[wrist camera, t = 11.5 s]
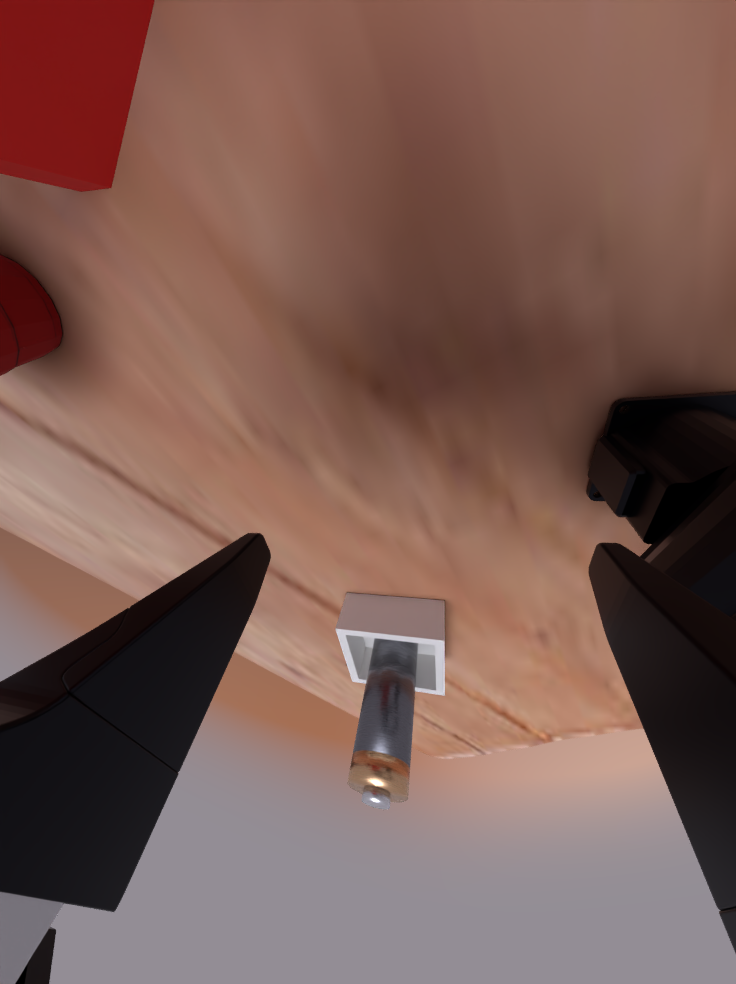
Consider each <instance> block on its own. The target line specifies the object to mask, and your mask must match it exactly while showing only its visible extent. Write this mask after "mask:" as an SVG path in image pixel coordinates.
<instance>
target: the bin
mask: <svg viewBox="0 0 736 984" xmlns="http://www.w3.org/2000/svg"><path fill="white" fill-rule="evenodd" d="M335 629H336V632H337V635H338V638H339V641H340V644H341V647H342V651H343V654H344V657H345V660H346V663H347V666H348V669H349V672H350V675H351V678H352V681H353V682H358V683H365V684H366V681H367V676H368V671H369V665H370V660H371V655H372V649H373V644H374V639H375V638H378V639H387V640H396V641H404V642H413V643H418V655H417V670H416V685H415V691H418V692H424V693H431V694H437V695H444V696H445V600H432V599H420V598H408V597H395V596H383V595H371V594H358V593H346V596H345V599H344V603H343V606H342V609H341V612H340V615H339V619H338V622H337V625H336V628H335Z"/></svg>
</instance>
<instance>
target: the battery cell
mask: <svg viewBox="0 0 736 984" xmlns="http://www.w3.org/2000/svg"><path fill="white" fill-rule="evenodd" d="M417 655H418V643H413V642H404V641H396V640H387V639H378V638H375V639H374V644H373V649H372V655H371V660H370V665H369V671H368V676H367V681H366V686H365V692H364V697H363V702H362V708H361V713H360V718H359V724H358V729H357V734H356V740H355V745H354V750H353V756H352V761H351V766H350V772H349V777H348V782H347V783H348V785H349V786H350V787H351V788H352V789H354V790H355V791H357V792H359V793H361V794H362V802H363V803H365V804H367V805H369V806H372V807H375V808H379V809H389V808H390V802H404V801H406V800H408V790H409V774H410V760H411V745H412V730H413V715H414V700H415V685H416V670H417Z"/></svg>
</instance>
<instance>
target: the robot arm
mask: <svg viewBox="0 0 736 984" xmlns="http://www.w3.org/2000/svg"><path fill="white" fill-rule="evenodd" d="M626 405H627V408H626V410H624V411H622V412H619V410H620V408H621V407H623V406H626ZM588 477H589V478H590V481H589V485H588V488H587V495H588V497H589V498H590V499H591V500H593V501H606V502H607V504H608V505H609V507H610V508H611V509H612V511H613V512H614V513H615V514H616V515H617V516H618V517H626V519H627V520H628V521H629V523H630V524H631V525H632V527H633V528H634V530H635V531H636V532H637V534H638V535H639V536H640V538H641V539H642V540H643V542H644V543H647V544H652V545H651V546H650V547H649V548H648V549H647V550H646V551H645V552H644V553H643V554H642V555H641V556H640V557H639V556H638V555H636V554H635V553H633V552H632V551H630V550H629V549H627V548H626V547H624V546H623V545H621V544H618V543H599V544H598V545H597V546H596V548H595V551H594V554H593V556H592V559H591V562H590V565H589V577H590V581H591V584H592V588H593V592H594V595H595V599H596V602H597V606H598V610H599V613H600V617H601V620H602V624H603V627H604V631H605V634H606V637H607V640H608V642H609V645H610V647H611V650H612V652H613V655H614V657H615V660H616V662H617V665H618V667H619V669H620V672H621V674H622V677H623V679H624V682H625V684H626V686H627V689H628V691H629V694H630V696H631V699H632V701H633V704H634V706H635V708H636V711H637V713H638V716H639V718H640V721H641V723H642V725H643V728H644V730H645V733H646V735H647V738H648V740H649V742H650V745H651V747H652V750H653V752H654V755H655V757H656V760H657V762H658V764H659V767H660V769H661V772H662V774H663V777H664V779H665V781H666V784H667V786H668V789H669V791H670V794H671V796H672V799H673V801H674V803H675V806H676V808H677V811H678V813H679V816H680V818H681V820H682V823H683V825H684V828H685V830H686V833H687V835H688V837H689V840H690V842H691V845H692V847H693V850H694V852H695V854H696V857H697V859H698V862H699V864H700V866H701V869H702V872H703V874H704V876H705V879H706V881H707V884H708V886H709V889H710V891H711V893H712V896H713V898H714V901H715V903H716V906H717V907H718V909H719V910H721V911H719V914H720V916H721V919H722V921H723V923H724V926H725V928H726V931H727V933H728V936H729V938H730V941H731V943H732V945H733V948H734V950H735V953H736V392H720V393H704V394H688V395H672V396H656V397H639V398H624V399H620V400H618V401H616V402H615V403H614V404H613V405H612V407H611V409H610V413H609V416H608V420H607V423H606V427H605V430H604V433H603V436H602V437H600V438H599V439H598V440H597V444H596V447H595V451H594V454H593V458H592V461H591V465H590V468H589V472H588ZM597 491H599V493H598V494H594V493H595V492H597ZM270 558H271V554H270V550H269V548H268V546H267V543H266V541H265V539H264V536H263V535H262V534H260V533H248V534H246V535H244V536H243V537H241V538H239V539H238V540H236V541H235V542H233V543H231V544H230V545H228V546H227V547H225V548H223V549H222V550H220V551H219V552H217V553H215V554H214V555H212V556H210V557H209V558H207V559H206V560H204V561H202V562H201V563H199V564H198V565H196V566H194V567H193V568H191V569H190V570H188V571H186V572H185V573H183V574H182V575H180V576H178V577H177V578H175V579H174V580H172V581H170V582H169V583H167V584H166V585H164V586H162V587H161V588H159V589H158V590H156V591H154V592H153V593H151V594H150V595H148V596H146V597H145V598H143V599H142V600H140V601H138V602H137V603H135V604H134V605H132V606H131V607H130V608H127V609H126V610H124V611H123V612H121V613H119V614H118V615H116V616H114V617H113V618H111V619H109V620H108V621H106V622H104V623H103V624H101V625H99V626H98V627H96V628H95V629H93V630H91V631H90V632H88V633H86V634H85V635H83V636H81V637H79V638H77V639H76V640H74V641H72V642H70V643H69V644H67V645H65V646H63V647H62V648H60V649H58V650H56V651H55V652H53V653H51V654H49V655H47V656H46V657H44V658H42V659H40V660H38V661H37V662H35V663H33V664H31V665H30V666H28V667H26V668H24V669H23V670H21V671H19V672H17V673H15V674H13V675H12V676H10V677H8V678H6V679H5V680H3V681H1V682H0V984H49V980H50V972H51V964H52V957H53V949H54V942H55V934H56V930H55V929H54V928H52V927H50V926H51V924H52V922H53V921H54V919H55V918H56V916H57V914H58V912H59V911H60V909H61V908H62V906H63V904H64V903H66V904H72V905H77V906H83V907H88V908H94V909H99V910H106V911H111V912H114V911H115V910H116V908H117V907H118V905H119V903H120V901H121V899H122V897H123V895H124V893H125V891H126V888H127V886H128V884H129V882H130V879H131V877H132V875H133V873H134V871H135V869H136V866H137V864H138V862H139V860H140V857H141V855H142V853H143V851H144V849H145V846H146V844H147V842H148V840H149V838H150V835H151V833H152V831H153V829H154V827H155V824H156V822H157V820H158V817H159V816H160V813H161V811H162V809H163V807H164V804H165V802H166V800H167V798H168V796H169V794H170V791H171V789H172V787H173V785H174V783H175V780H176V778H177V776H178V772H179V771H180V769H181V767H182V765H183V762H184V760H185V758H186V756H187V754H188V751H189V749H190V747H191V745H192V743H193V740H194V738H195V736H196V734H197V731H198V729H199V727H200V725H201V723H202V721H203V718H204V716H205V714H206V712H207V709H208V707H209V705H210V703H211V701H212V698H213V696H214V694H215V692H216V690H217V687H218V685H219V683H220V681H221V679H222V676H223V674H224V672H225V670H226V668H227V665H228V663H229V661H230V659H231V657H232V654H233V652H234V650H235V648H236V646H237V643H238V641H239V639H240V637H241V635H242V632H243V630H244V628H245V626H246V624H247V621H248V619H249V617H250V615H251V613H252V610H253V608H254V606H255V603H256V600H257V598H258V595H259V592H260V589H261V586H262V583H263V580H264V577H265V574H266V571H267V568H268V565H269V562H270Z"/></svg>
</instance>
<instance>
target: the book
mask: <svg viewBox="0 0 736 984" xmlns="http://www.w3.org/2000/svg"><path fill="white" fill-rule="evenodd" d="M153 5H154V0H0V173H1V174H5V175H10V176H14V177H19V178H23V179H27V180H32V181H36V182H41V183H45V184H50V185H54V186H58V187H63V188H67V189H72V190H76V191H81V192H82V191H90V190H98V189H107V188H111V187H112V182H113V178H114V174H115V169H116V165H117V161H118V156H119V152H120V148H121V143H122V139H123V135H124V130H125V126H126V122H127V117H128V113H129V109H130V104H131V100H132V96H133V91H134V87H135V83H136V78H137V74H138V70H139V65H140V61H141V57H142V52H143V48H144V44H145V39H146V35H147V31H148V26H149V22H150V18H151V13H152V9H153Z"/></svg>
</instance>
